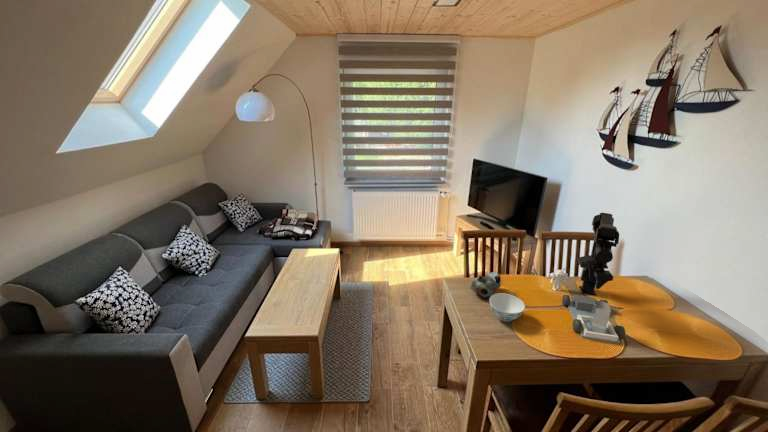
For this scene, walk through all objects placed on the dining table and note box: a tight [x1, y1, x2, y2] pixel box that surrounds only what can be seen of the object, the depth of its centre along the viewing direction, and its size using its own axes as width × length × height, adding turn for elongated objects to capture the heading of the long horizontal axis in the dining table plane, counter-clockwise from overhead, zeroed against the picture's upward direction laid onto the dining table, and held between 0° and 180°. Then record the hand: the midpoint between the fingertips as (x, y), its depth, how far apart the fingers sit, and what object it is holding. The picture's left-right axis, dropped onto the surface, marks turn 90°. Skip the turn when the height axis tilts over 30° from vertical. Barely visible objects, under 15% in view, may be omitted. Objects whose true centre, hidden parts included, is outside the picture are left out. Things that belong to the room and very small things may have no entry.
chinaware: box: [489, 292, 526, 323], centre depth 148 cm, size 15×15×8 cm
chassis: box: [561, 294, 626, 344], centre depth 147 cm, size 27×18×5 cm, turn 165°
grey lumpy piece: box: [470, 271, 503, 300], centre depth 166 cm, size 15×12×14 cm
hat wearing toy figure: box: [549, 267, 569, 291], centre depth 169 cm, size 9×4×12 cm, turn 88°
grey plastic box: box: [589, 299, 612, 333], centre depth 139 cm, size 6×5×12 cm
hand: (593, 283), depth 152 cm, fingers open, 9 cm apart
